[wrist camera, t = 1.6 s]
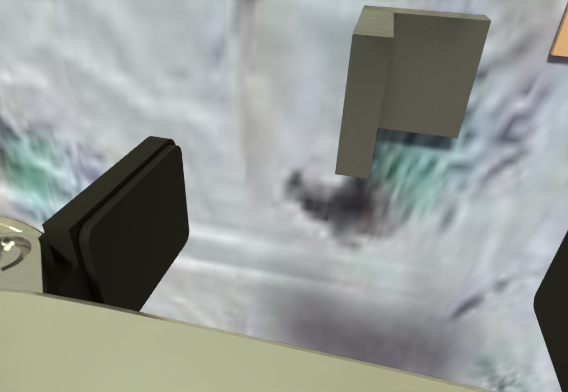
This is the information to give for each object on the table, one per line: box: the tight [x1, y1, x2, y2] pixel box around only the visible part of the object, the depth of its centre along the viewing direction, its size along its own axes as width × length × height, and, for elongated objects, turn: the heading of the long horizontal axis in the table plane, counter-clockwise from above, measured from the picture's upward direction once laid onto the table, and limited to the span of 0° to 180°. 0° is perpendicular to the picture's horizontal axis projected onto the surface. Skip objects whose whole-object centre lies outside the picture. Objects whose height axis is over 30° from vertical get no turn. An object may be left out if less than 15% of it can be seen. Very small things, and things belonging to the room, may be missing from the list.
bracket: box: [335, 6, 491, 179], centre depth 20 cm, size 6×6×8 cm
